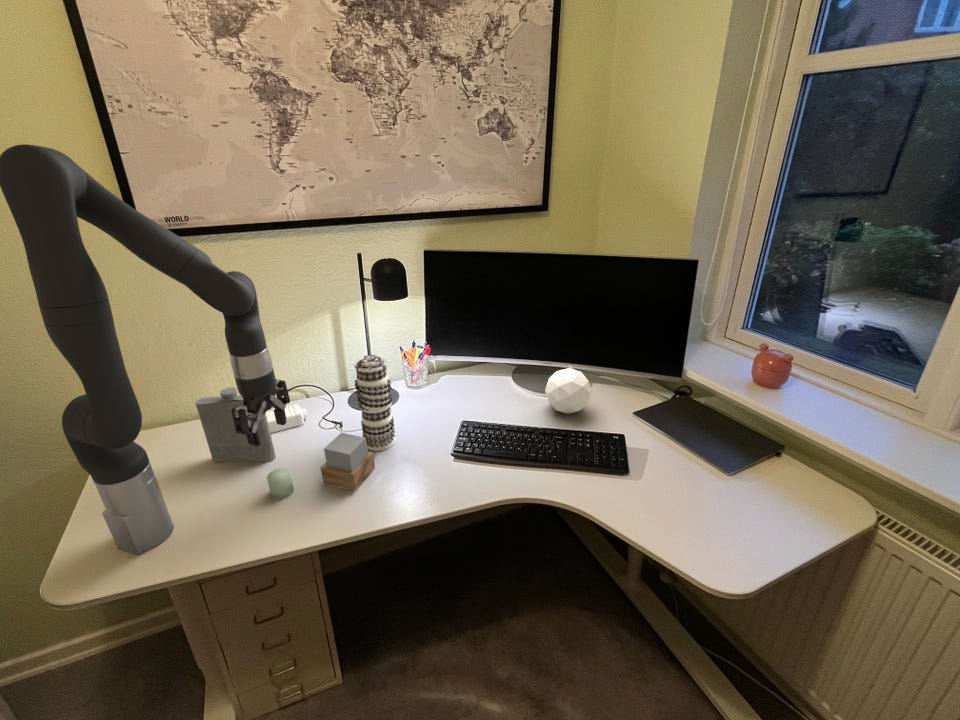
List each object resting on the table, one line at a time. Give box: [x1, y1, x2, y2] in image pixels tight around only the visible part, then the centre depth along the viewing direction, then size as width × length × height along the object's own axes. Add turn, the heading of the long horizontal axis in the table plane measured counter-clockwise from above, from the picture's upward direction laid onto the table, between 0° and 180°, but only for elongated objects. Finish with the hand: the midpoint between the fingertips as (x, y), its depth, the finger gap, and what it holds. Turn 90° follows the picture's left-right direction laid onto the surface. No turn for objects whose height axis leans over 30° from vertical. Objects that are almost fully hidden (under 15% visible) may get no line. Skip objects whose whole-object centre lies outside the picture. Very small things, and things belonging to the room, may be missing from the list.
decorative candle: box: [354, 354, 396, 452], centre depth 126 cm, size 9×9×25 cm
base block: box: [320, 451, 376, 492], centre depth 118 cm, size 9×9×5 cm
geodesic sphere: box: [544, 365, 592, 415], centre depth 144 cm, size 14×14×14 cm
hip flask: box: [195, 386, 277, 464], centre depth 121 cm, size 16×4×20 cm, turn 91°
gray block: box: [323, 432, 369, 472], centre depth 116 cm, size 7×7×5 cm
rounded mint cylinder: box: [266, 467, 295, 500], centre depth 113 cm, size 5×5×5 cm
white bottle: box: [266, 403, 308, 434], centre depth 139 cm, size 7×13×4 cm, turn 118°
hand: (269, 434), depth 107 cm, fingers open, 8 cm apart
